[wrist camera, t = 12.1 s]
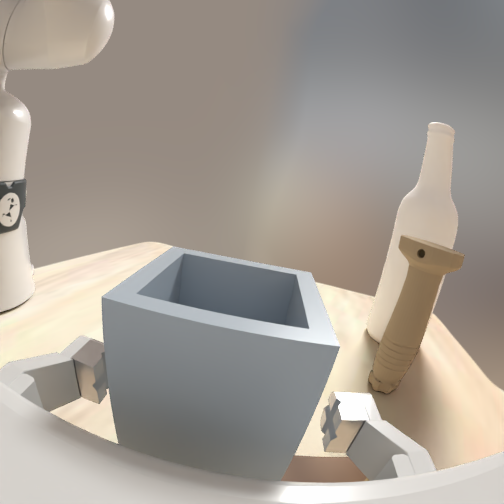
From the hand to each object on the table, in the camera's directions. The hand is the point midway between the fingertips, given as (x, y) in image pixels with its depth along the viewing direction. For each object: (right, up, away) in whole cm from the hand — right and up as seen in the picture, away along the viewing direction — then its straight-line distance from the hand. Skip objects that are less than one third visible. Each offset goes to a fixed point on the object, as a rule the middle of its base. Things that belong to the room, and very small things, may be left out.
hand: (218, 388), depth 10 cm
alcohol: (+21, -7, +28) cm, 36 cm away
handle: (+14, -9, +16) cm, 23 cm away
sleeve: (-2, -8, +2) cm, 9 cm away
